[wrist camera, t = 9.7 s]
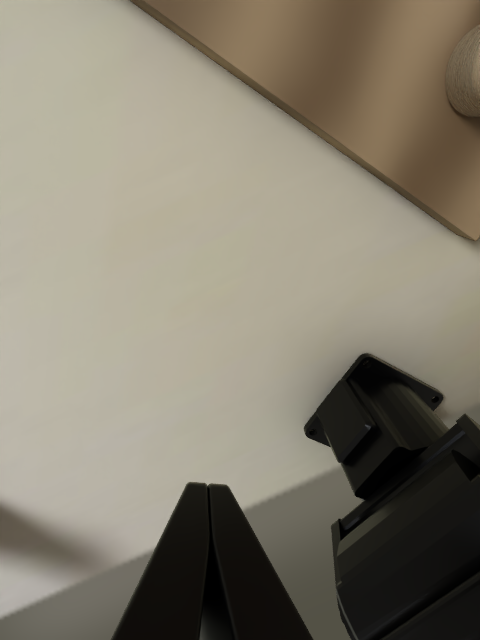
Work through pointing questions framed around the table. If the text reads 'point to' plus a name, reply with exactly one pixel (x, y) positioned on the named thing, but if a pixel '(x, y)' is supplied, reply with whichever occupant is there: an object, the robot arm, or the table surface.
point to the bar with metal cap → (465, 75)
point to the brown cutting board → (356, 83)
